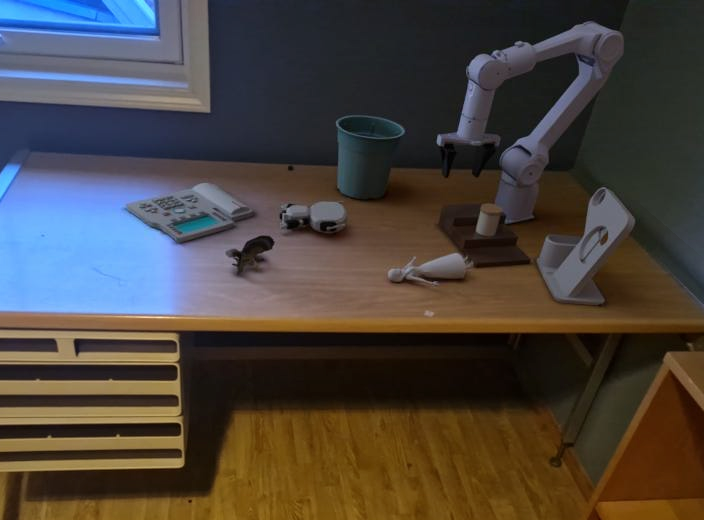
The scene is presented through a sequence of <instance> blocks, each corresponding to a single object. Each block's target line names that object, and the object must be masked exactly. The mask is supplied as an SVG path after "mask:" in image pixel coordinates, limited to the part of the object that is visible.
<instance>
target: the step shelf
mask: <svg viewBox="0 0 704 520" xmlns="http://www.w3.org/2000/svg"><path fill="white" fill-rule="evenodd" d="M489 203H490V204H494V202H489ZM482 204H486V202H485V203H467V204H465V203H463V204H442V206H441V210H440V215H439V219H438V223H437V226H438V227H439V228H440V229H441V230H442V231H443V233H444V234H445V235H446V236H447V237H448V238H449V239H450V240H451V242H453V244H454V245H455V246H456V247H457V248H458V249H459V251H461V252H462V254H463V255H464V256H465V258H466V257H467V256H468V261H469V262H470V263H471V262H472V261H473V267H475V268H483V267H497V266H499V267H500V266H511V265H526V264H527V265H529V264H531V261H532V259H531V258H530V257H529V256H528V255H527V254H526V253H525V252H524V251H523V250H522V249H521V248H520V247H519V246H518V245H517V243H518V240H519V236H518V235H517V234H516V233H515V232H514V231H513V230H512V229H511V228H510V227H509V226H508V225H507V224H505V219H506V216H507V215H506V214H505V213H503V212H502V214H501V216H500V220H499V223H498V227H497V230H496V234H495V235H493V236H484V235H481V234H479V233H477V232H476V226H477V222H478V218H479V215H480V208H481V205H482Z"/></svg>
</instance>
